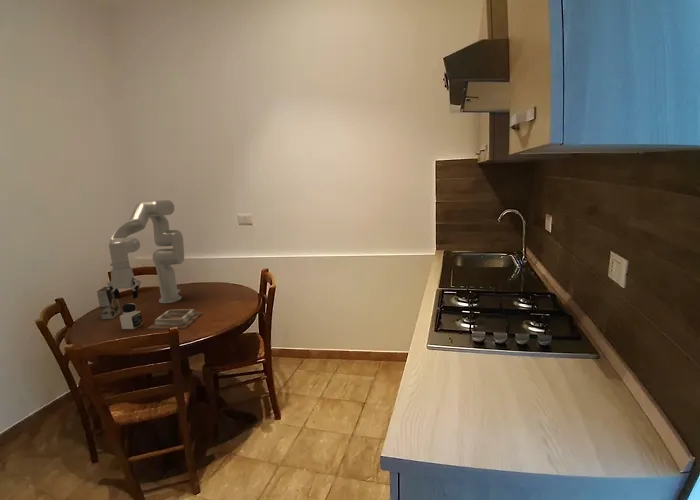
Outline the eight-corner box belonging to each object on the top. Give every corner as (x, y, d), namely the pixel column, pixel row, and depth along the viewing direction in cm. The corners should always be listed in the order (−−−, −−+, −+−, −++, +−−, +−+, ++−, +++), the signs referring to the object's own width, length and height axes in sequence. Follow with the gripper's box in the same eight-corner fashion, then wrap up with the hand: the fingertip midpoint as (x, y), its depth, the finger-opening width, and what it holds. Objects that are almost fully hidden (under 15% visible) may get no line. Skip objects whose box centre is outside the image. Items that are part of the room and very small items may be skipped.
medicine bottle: (134, 329, 219) (129, 307, 217) (121, 329, 221) (117, 306, 218) (143, 323, 226) (139, 302, 223) (131, 323, 228) (127, 302, 225)
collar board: (167, 315, 237) (166, 308, 236) (202, 313, 235) (201, 307, 234) (147, 329, 218) (146, 322, 217) (185, 328, 216) (184, 321, 215)
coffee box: (113, 318, 237) (108, 290, 233) (101, 319, 236) (95, 291, 233) (121, 312, 246) (115, 285, 242) (109, 313, 245) (104, 286, 242)
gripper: (99, 267, 213) (105, 301, 217) (133, 266, 212) (138, 300, 215) (109, 264, 221) (115, 296, 224) (141, 262, 219) (146, 295, 222)
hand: (126, 298), depth 220 cm, fingers open, 9 cm apart
